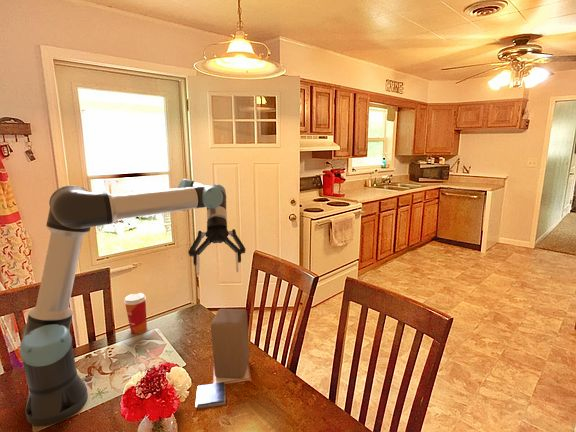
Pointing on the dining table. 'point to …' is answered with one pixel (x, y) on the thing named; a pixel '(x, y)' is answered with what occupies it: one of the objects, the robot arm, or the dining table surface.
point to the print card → (232, 380)
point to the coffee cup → (136, 312)
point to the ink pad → (210, 395)
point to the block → (230, 343)
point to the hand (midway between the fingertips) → (217, 272)
